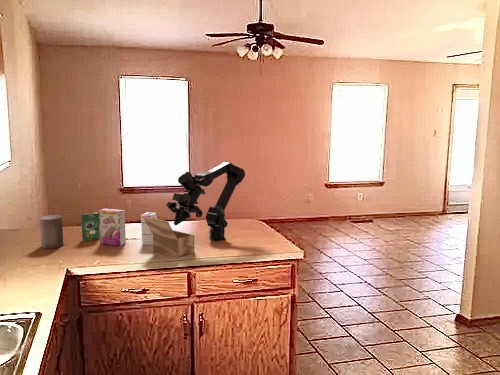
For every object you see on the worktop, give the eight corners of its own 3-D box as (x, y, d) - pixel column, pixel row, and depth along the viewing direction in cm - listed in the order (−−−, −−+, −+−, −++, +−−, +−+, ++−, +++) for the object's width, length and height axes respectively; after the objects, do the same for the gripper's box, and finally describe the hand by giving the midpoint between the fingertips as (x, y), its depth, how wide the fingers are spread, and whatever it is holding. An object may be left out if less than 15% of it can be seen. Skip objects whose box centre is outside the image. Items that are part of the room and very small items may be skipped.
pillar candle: (68, 244, 231) (66, 213, 229) (51, 249, 222) (49, 216, 220) (52, 242, 235) (50, 211, 233) (36, 247, 226) (34, 215, 224)
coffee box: (98, 237, 243) (97, 211, 241) (100, 238, 241) (99, 212, 239) (82, 240, 238) (80, 213, 236) (84, 241, 236) (83, 214, 234)
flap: (143, 216, 214) (142, 216, 214) (167, 221, 204) (167, 222, 204) (152, 233, 219) (152, 234, 219) (177, 239, 209) (176, 239, 209)
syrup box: (153, 245, 230) (152, 214, 228) (141, 244, 231) (140, 214, 229) (158, 242, 235) (157, 212, 233) (146, 241, 237) (145, 211, 234)
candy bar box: (99, 244, 231) (98, 210, 229) (106, 241, 236) (104, 208, 233) (120, 246, 228) (119, 211, 225) (126, 243, 232) (125, 209, 230)
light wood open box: (170, 246, 228) (169, 229, 227) (194, 252, 218) (194, 234, 217) (153, 250, 220) (152, 233, 219) (177, 257, 210) (177, 239, 209)
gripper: (168, 184, 225) (150, 211, 219) (197, 188, 214) (179, 217, 207) (181, 198, 233) (164, 225, 226) (210, 203, 221) (193, 231, 214)
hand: (174, 224), depth 218 cm, fingers closed
